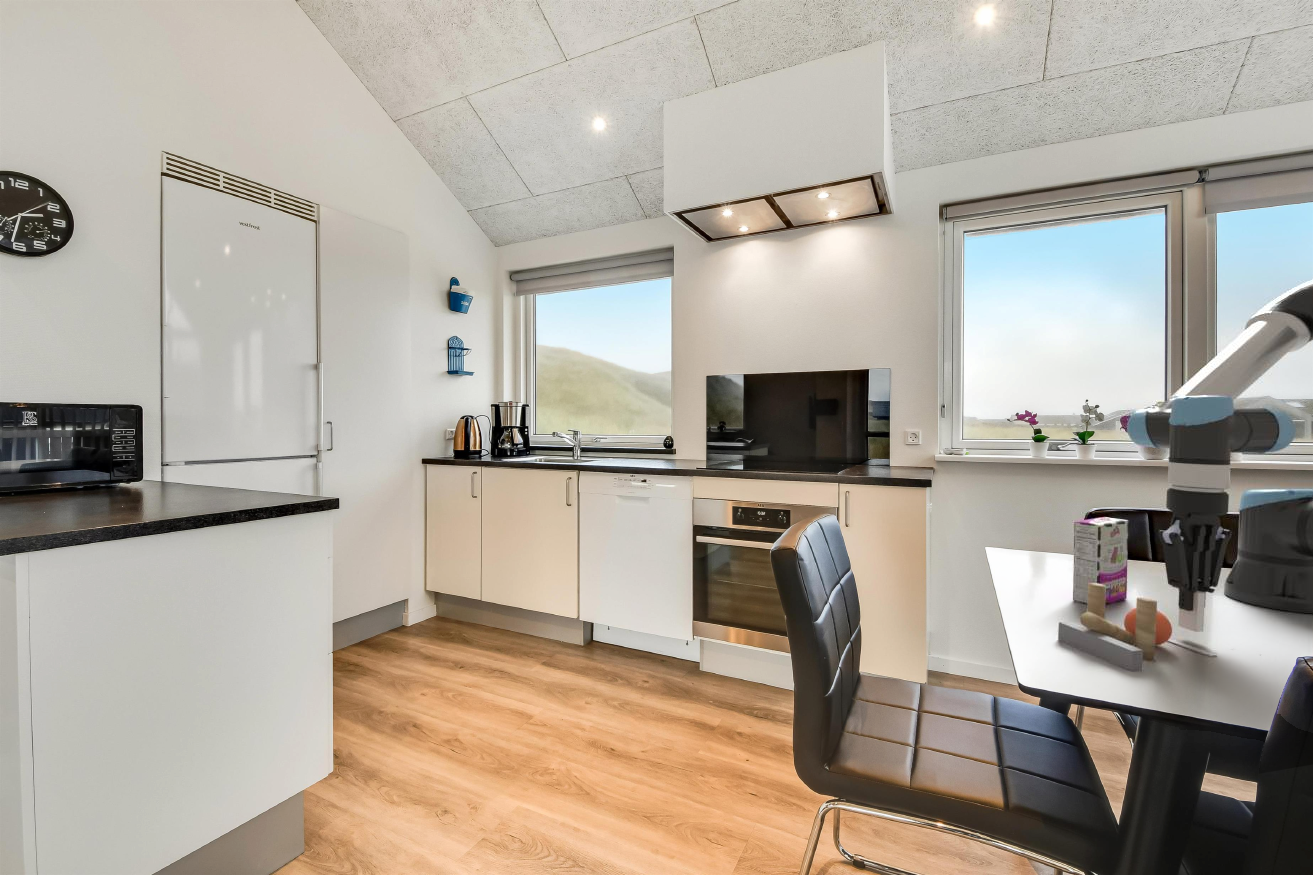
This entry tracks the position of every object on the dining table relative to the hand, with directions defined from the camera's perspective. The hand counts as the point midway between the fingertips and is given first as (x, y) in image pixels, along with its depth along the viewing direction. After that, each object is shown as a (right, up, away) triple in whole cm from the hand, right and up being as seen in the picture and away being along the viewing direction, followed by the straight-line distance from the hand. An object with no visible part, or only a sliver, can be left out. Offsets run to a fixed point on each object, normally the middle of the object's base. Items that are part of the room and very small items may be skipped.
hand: (1190, 628), depth 96 cm
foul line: (-4, -2, -1) cm, 4 cm away
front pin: (-13, -1, -3) cm, 13 cm away
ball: (-9, +1, -2) cm, 9 cm away
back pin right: (-16, -2, +1) cm, 16 cm away
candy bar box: (+1, -1, +21) cm, 21 cm away
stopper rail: (-20, -2, -6) cm, 21 cm away
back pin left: (-14, -2, -7) cm, 16 cm away
